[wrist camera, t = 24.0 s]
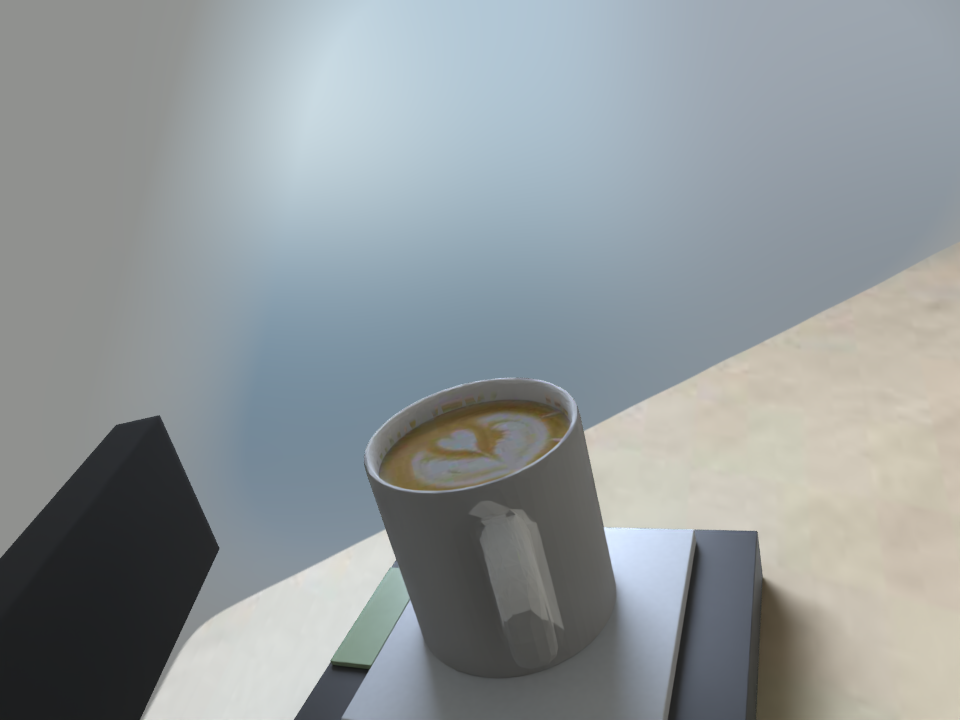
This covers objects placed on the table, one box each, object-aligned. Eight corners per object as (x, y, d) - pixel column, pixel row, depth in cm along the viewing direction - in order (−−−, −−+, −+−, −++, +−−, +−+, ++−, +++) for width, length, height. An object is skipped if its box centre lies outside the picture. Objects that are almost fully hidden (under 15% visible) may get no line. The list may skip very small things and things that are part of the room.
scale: (300, 786, 36) (273, 729, 35) (431, 560, 50) (416, 512, 48) (748, 872, 28) (738, 802, 27) (762, 575, 42) (756, 518, 40)
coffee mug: (431, 553, 44) (381, 399, 40) (604, 523, 43) (571, 361, 39) (399, 760, 32) (323, 568, 28) (641, 727, 31) (597, 521, 27)
